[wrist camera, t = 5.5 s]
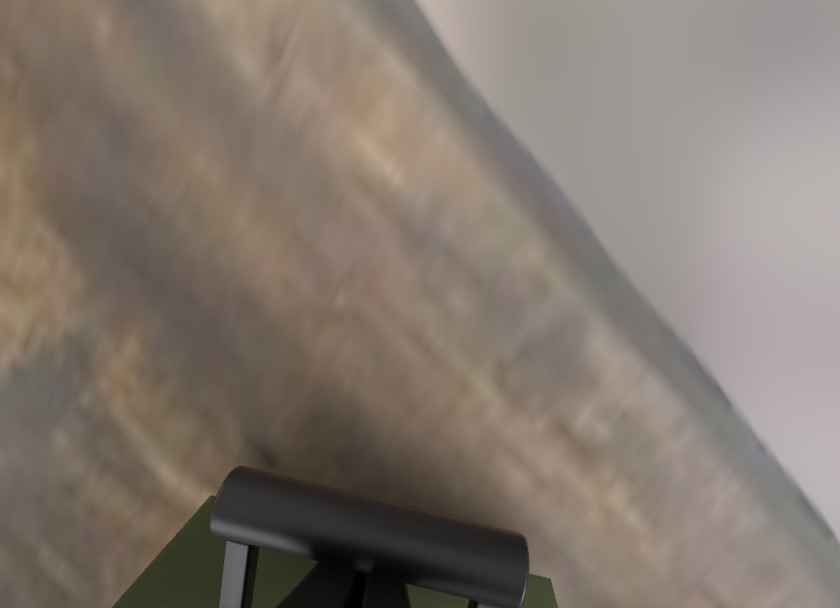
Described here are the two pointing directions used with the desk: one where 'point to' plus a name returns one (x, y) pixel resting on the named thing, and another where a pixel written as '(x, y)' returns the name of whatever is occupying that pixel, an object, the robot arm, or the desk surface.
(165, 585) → the drawer
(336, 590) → the robot arm
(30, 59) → the desk surface
